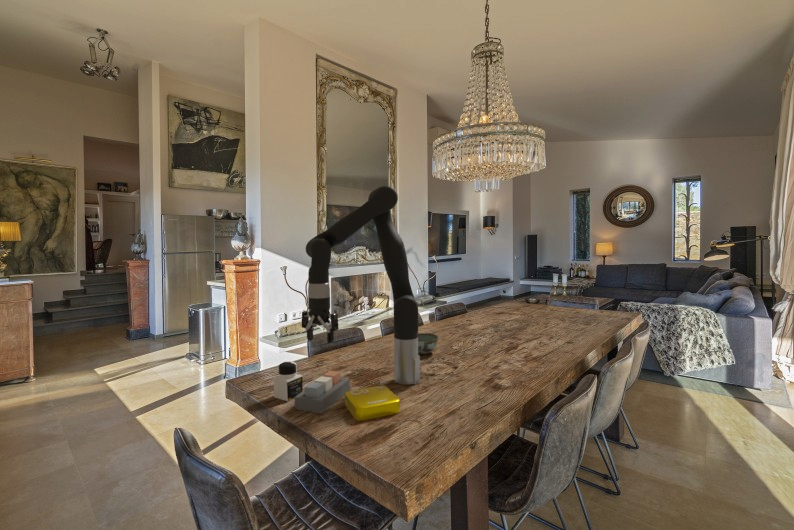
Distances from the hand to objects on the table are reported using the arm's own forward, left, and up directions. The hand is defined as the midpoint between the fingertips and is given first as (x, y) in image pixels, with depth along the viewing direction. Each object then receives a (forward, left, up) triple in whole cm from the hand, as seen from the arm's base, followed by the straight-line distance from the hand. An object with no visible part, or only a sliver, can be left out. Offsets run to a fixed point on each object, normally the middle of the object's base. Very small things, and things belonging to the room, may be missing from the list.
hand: (320, 341), depth 136 cm
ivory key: (-3, +3, -16) cm, 16 cm away
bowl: (-21, -60, -20) cm, 67 cm away
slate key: (-3, +9, -16) cm, 18 cm away
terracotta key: (-3, -3, -16) cm, 16 cm away
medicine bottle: (+11, +4, -20) cm, 23 cm away
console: (-3, +3, -19) cm, 20 cm away
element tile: (-21, +4, -20) cm, 29 cm away
